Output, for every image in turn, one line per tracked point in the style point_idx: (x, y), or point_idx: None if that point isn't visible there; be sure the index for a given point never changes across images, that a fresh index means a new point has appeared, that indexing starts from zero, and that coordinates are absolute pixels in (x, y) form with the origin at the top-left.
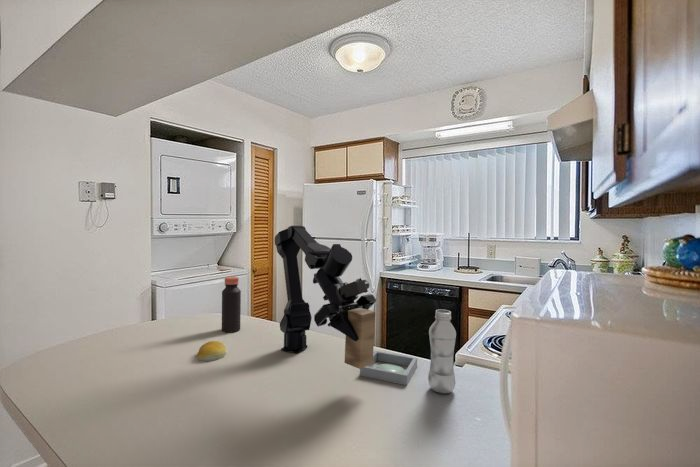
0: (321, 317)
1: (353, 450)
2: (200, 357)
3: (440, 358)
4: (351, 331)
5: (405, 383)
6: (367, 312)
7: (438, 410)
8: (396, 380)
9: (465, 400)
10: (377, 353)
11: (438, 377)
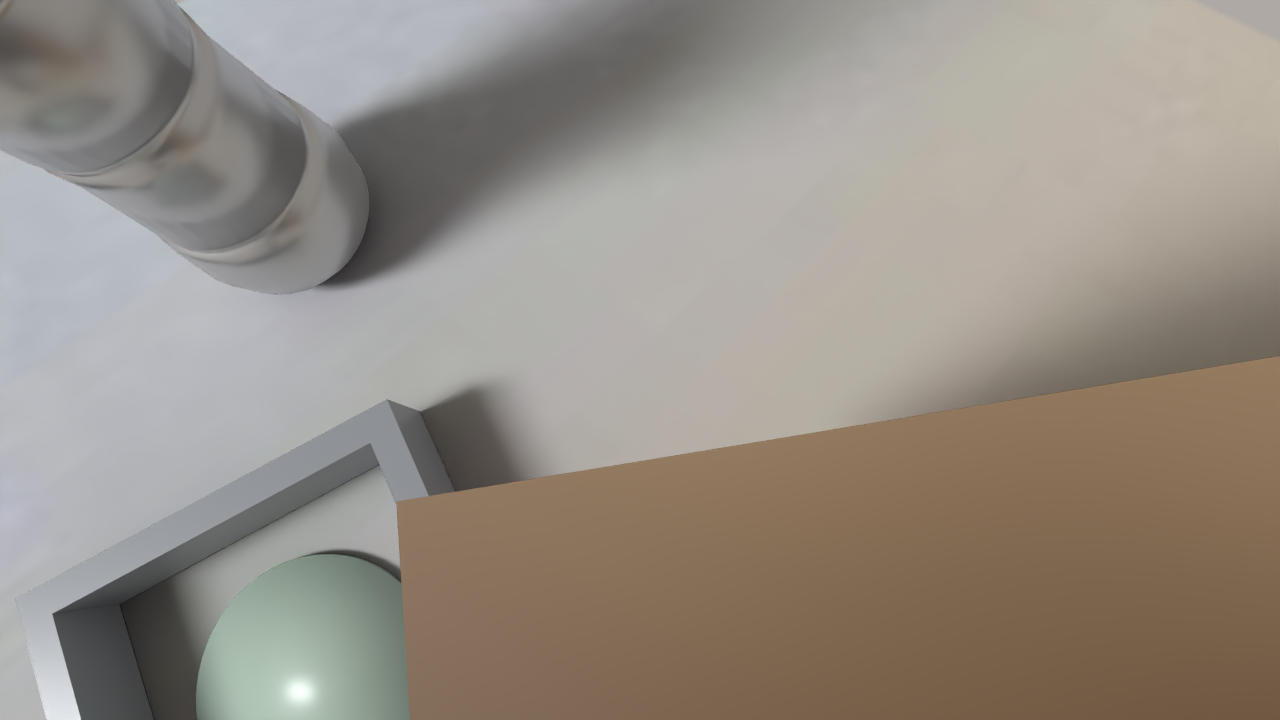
0: None
1: (1203, 87)
2: None
3: (198, 36)
4: None
5: (418, 419)
6: (859, 571)
7: (527, 92)
8: (443, 481)
9: (312, 77)
10: None
11: (316, 135)
